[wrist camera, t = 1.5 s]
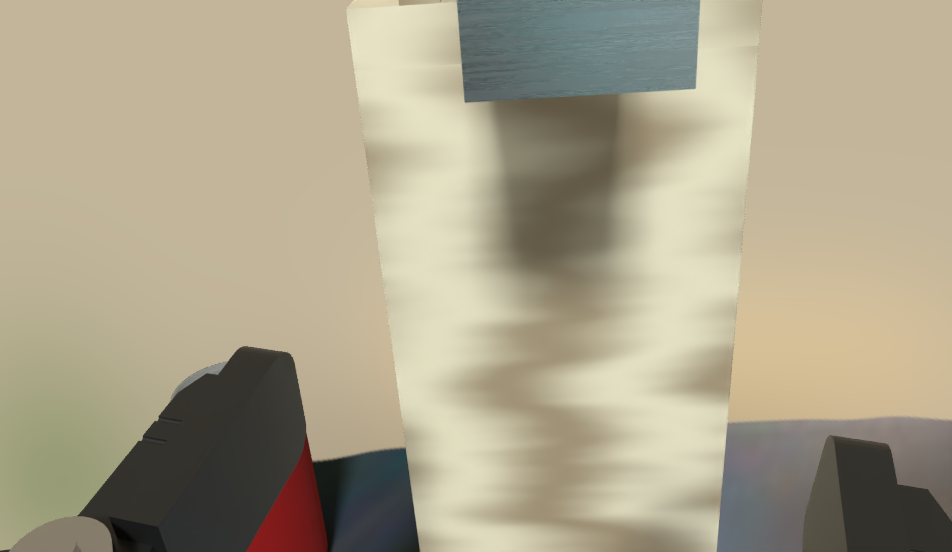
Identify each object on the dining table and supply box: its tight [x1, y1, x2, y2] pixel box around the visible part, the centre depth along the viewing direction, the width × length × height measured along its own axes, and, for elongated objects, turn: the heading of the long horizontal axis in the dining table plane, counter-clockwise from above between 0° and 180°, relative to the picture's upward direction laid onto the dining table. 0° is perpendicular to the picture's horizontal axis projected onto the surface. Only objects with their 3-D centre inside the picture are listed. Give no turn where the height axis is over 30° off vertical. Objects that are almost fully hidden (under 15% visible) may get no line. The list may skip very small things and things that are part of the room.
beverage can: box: [171, 362, 328, 552], centre depth 45 cm, size 7×7×12 cm
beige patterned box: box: [346, 0, 763, 552], centre depth 33 cm, size 10×13×33 cm
